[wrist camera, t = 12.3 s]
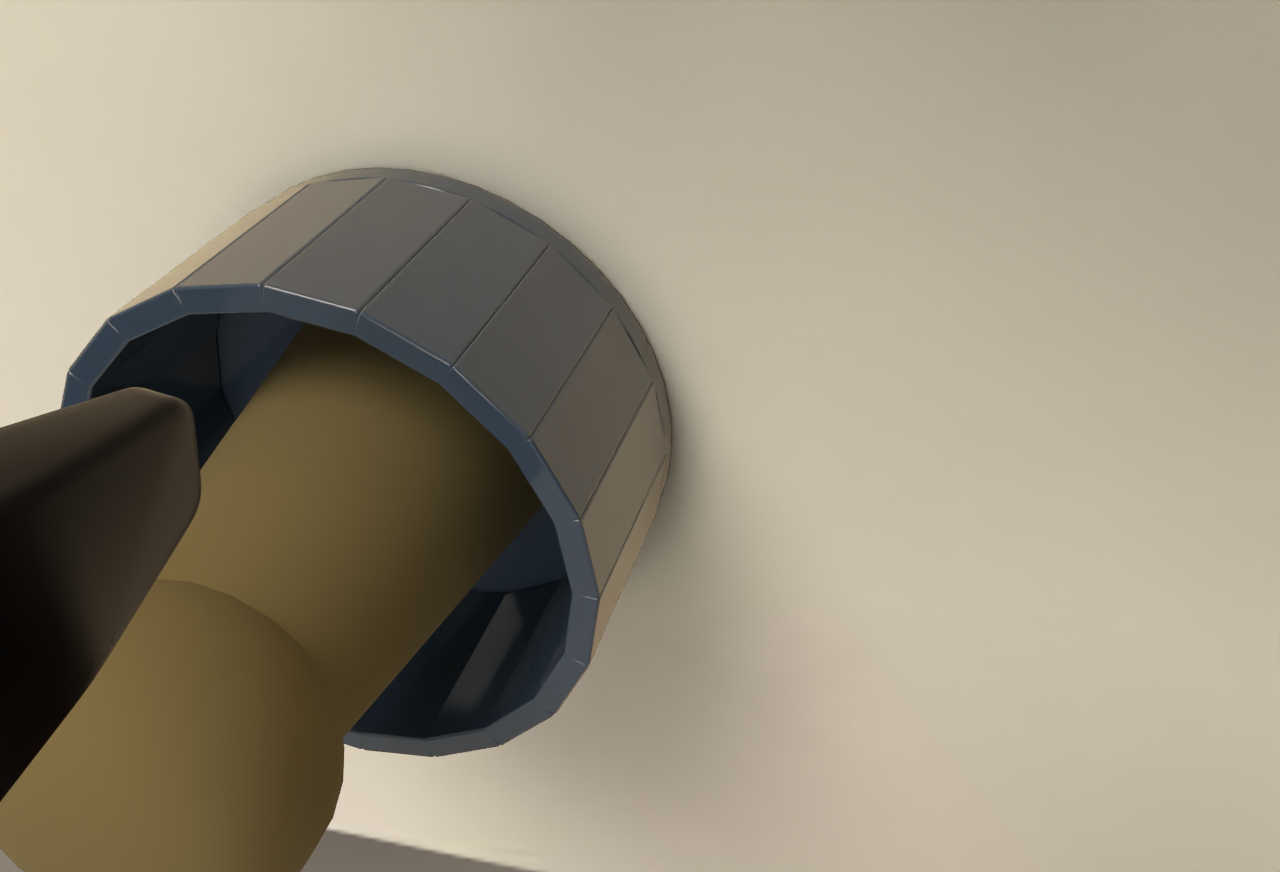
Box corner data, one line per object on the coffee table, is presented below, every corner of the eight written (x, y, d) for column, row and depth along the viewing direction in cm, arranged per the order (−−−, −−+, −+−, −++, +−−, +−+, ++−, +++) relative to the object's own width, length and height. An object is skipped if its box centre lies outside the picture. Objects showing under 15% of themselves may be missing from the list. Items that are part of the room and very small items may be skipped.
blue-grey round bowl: (711, 241, 21) (632, 385, 17) (636, 642, 27) (566, 818, 23) (192, 111, 23) (11, 216, 19) (230, 519, 29) (98, 664, 25)
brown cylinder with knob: (569, 557, 26) (318, 1046, 17) (312, 505, 27) (-45, 935, 18) (564, 305, 22) (245, 756, 13) (270, 260, 24) (-195, 644, 15)
